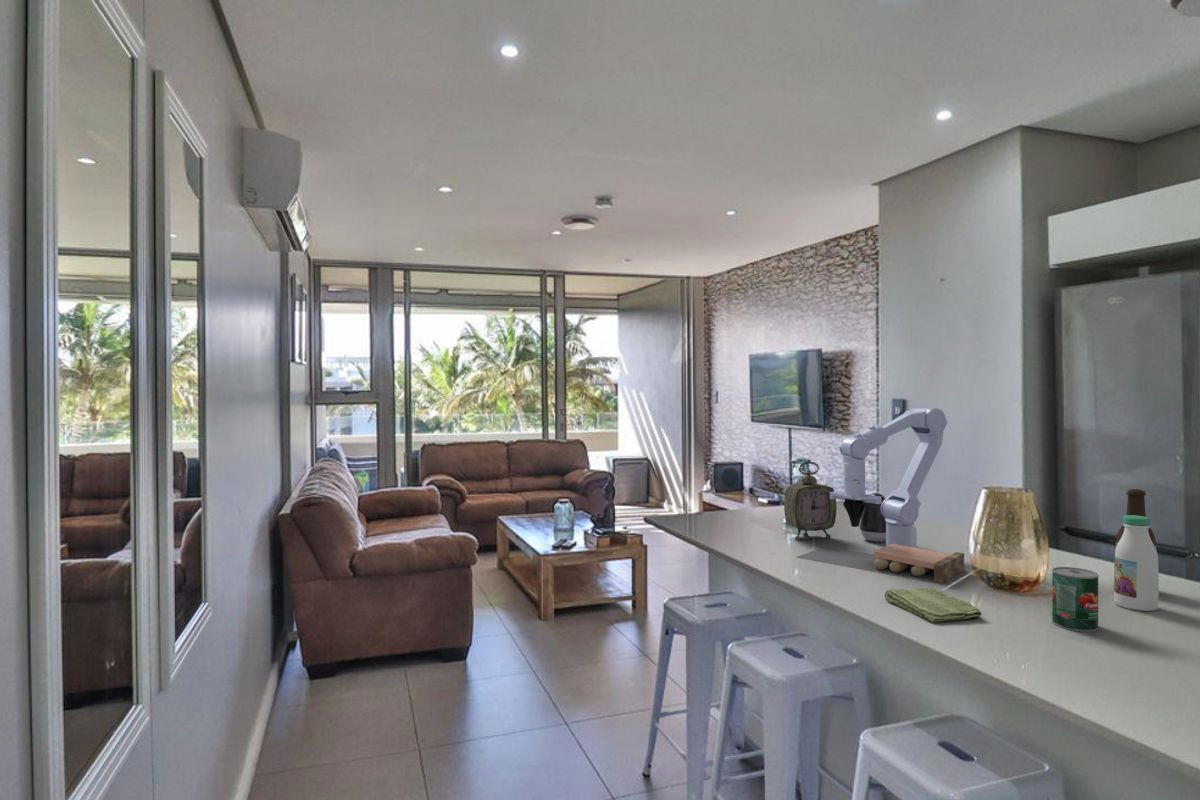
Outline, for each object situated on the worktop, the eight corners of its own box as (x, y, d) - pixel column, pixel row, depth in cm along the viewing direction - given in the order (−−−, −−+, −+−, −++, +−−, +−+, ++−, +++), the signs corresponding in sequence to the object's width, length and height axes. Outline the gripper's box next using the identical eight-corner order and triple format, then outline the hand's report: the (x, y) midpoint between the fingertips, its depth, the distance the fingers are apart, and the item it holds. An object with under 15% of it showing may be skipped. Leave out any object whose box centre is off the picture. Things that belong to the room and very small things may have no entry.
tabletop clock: (794, 542, 216) (794, 463, 216) (781, 536, 225) (781, 460, 225) (836, 540, 219) (836, 462, 219) (821, 534, 228) (821, 459, 228)
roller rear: (891, 557, 192) (896, 548, 191) (900, 563, 190) (905, 555, 189) (870, 566, 183) (875, 557, 182) (880, 573, 181) (885, 564, 180)
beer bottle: (1150, 587, 166) (1151, 488, 165) (1161, 596, 159) (1161, 493, 158) (1111, 583, 169) (1112, 486, 168) (1120, 592, 162) (1120, 491, 161)
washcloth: (933, 627, 142) (933, 611, 142) (880, 601, 159) (880, 587, 159) (987, 621, 145) (987, 606, 145) (929, 596, 162) (929, 583, 162)
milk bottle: (1149, 602, 154) (1149, 514, 154) (1164, 613, 147) (1165, 520, 147) (1108, 599, 157) (1109, 512, 156) (1122, 610, 149) (1122, 519, 149)
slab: (892, 548, 192) (892, 543, 192) (953, 560, 181) (953, 555, 181) (873, 556, 184) (874, 551, 184) (936, 569, 172) (936, 563, 172)
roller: (927, 557, 185) (938, 556, 183) (930, 568, 185) (940, 567, 183) (907, 567, 176) (918, 566, 174) (910, 578, 175) (921, 577, 173)
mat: (825, 547, 210) (825, 546, 210) (967, 571, 181) (967, 570, 181) (795, 558, 197) (795, 557, 197) (943, 586, 168) (943, 584, 168)
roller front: (921, 561, 187) (911, 565, 188) (915, 551, 188) (905, 555, 189) (901, 571, 177) (891, 575, 179) (895, 560, 178) (885, 564, 180)
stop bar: (956, 570, 182) (956, 552, 182) (964, 572, 181) (964, 553, 181) (933, 583, 171) (933, 563, 171) (942, 585, 169) (942, 565, 169)
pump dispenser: (887, 536, 223) (887, 490, 223) (898, 544, 213) (898, 495, 213) (855, 536, 224) (855, 490, 224) (864, 543, 214) (864, 495, 214)
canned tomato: (1100, 634, 135) (1100, 579, 135) (1052, 627, 139) (1052, 573, 139) (1096, 622, 142) (1097, 570, 142) (1051, 616, 146) (1051, 565, 146)
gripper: (824, 478, 200) (825, 525, 200) (873, 483, 190) (874, 531, 190) (835, 476, 205) (836, 521, 205) (884, 480, 195) (884, 527, 195)
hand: (855, 526), depth 198 cm, fingers closed
